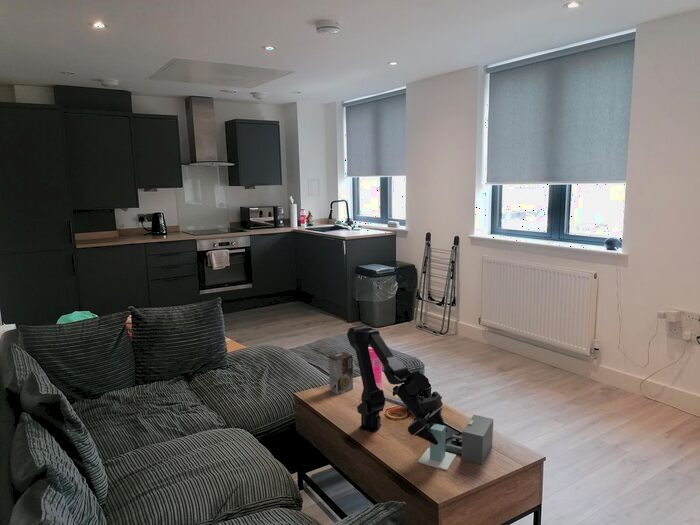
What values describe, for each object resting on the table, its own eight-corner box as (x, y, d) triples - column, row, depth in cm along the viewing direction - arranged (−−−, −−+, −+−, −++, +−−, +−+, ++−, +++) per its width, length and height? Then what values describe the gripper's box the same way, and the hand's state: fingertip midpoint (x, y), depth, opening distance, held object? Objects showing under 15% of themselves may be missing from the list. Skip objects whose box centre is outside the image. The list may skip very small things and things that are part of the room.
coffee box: (344, 384, 230) (344, 351, 227) (353, 389, 225) (353, 355, 222) (328, 390, 224) (328, 355, 221) (337, 394, 219) (337, 359, 216)
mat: (418, 462, 165) (418, 461, 165) (428, 448, 174) (428, 447, 174) (446, 470, 160) (447, 469, 160) (456, 456, 169) (456, 454, 169)
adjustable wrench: (419, 408, 206) (419, 404, 206) (410, 414, 202) (410, 409, 201) (373, 391, 223) (373, 388, 222) (363, 396, 218) (363, 392, 218)
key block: (429, 459, 166) (430, 428, 165) (433, 453, 170) (434, 423, 168) (441, 462, 164) (442, 431, 163) (445, 456, 168) (445, 426, 166)
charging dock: (442, 454, 170) (443, 425, 169) (455, 436, 182) (456, 409, 181) (482, 464, 164) (483, 435, 162) (492, 445, 176) (493, 417, 174)
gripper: (417, 397, 157) (450, 438, 154) (437, 377, 173) (467, 414, 170) (394, 415, 162) (425, 455, 159) (415, 394, 178) (444, 430, 175)
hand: (441, 438), depth 165 cm, fingers open, 9 cm apart
